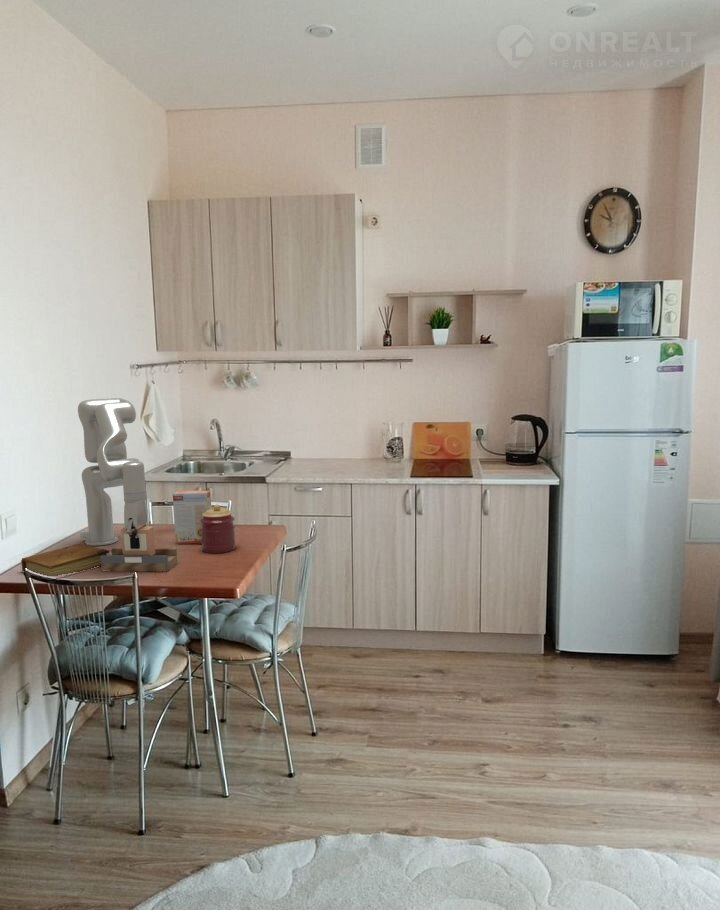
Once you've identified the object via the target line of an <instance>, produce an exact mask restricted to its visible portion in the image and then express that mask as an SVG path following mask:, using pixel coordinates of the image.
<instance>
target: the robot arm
mask: <svg viewBox="0 0 720 910" xmlns="http://www.w3.org/2000/svg"><path fill="white" fill-rule="evenodd" d="M77 413H78V419H79V420H80V423H81V426H82V429H83V447H84V448H83V449H84V457H85V460H86V461H87V462H88V463H90V464H91V463H92V464H96V465H91V466H87V467H86V468H84V469H83V470H82V471H81V481H82V484H83V488H84V489H83V490H84V494H85V501H86V502H85V503H86V515H87V516H86V517H87V526H88V527H87V528H88V530H87V531H81V532H80V533H79V536H80V538H81V539H82V538H83V539H84V538H86V540H84V541H85V545H89V546H93V547H97V546H106V545H111V544H114V543H116V542H119V537H118V536H117V535H115V534H114V533H115V532H114V520H113V509H112V508H113V506H112V499H111V496H110V494H108V493H107V491H105V490H104V489H108V488H117V487H122V488H123V489H122V490H123V502H124V505H123V507H124V508H123V521H124V522H123V523H124V524H123V525H124V527H123V528H125V529H126V530H127V533H128V534H129V538H130V548H131V549H139V548H140V543H139V537H138V529H140V528H141V527H143V526H147V524H148V511H147V503H146V501H147V491H146V487H147V486H146V476H145V465H144V463H143V462H142V461H140V460H139V459H138V458H135V457H134V458H133V457H131V458H128V456H127V455H128V453H127V446H126V443H125V441H126V440H127V439H128V433H127V431H126V427H125V424H133V423H135V421H136V419H137V418H136V417H137V412H136V409H135V407H134V404H133V403H132V402H131V401H129V400H126V399H124V398H120V397H119V398H118V397H116V398H112V397H111V398H95V399H86V400H82V401H80V402H79V404H78V406H77ZM133 527H135V529H132V528H133ZM133 531H135V532H133Z"/></svg>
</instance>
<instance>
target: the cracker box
mask: <svg viewBox="0 0 720 910" xmlns="http://www.w3.org/2000/svg"><path fill="white" fill-rule="evenodd" d="M211 496H212V495H211V490H176V491H175V492H173V493H172V503H173V504H172V505H173V520H174V534H175V535H174V536H175V544H176V545H177V544H178V545H186V544H190V545H191V544H201V545H202V532H201V528H202V523H201V522H200V520H201V519H202V518H203V517H204V516H203V515H202V514H203V513H204V512H206V511H207V510H209V509H212V497H211Z"/></svg>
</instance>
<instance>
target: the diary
mask: <svg viewBox="0 0 720 910" xmlns="http://www.w3.org/2000/svg"><path fill="white" fill-rule="evenodd" d="M109 553H110V550H108V549H106V548H105V549H104V548H101V547H97V546H91V545H87V544H86V543H85V544H83V543H77V544H73V545H69V546H66V547H62V548H57V549H54V550H50V551H45V552H42V553H38V554H34V555H30V556H27V557H23V558H21V560H20V561H21V571H22V572H23V571H24V569H25V568H27V569H29V570H31V571H33V572H36V573H40V574H43V575H47V576H58V575H62V574H68V573H73V572H80V571H83V570H87V569H90V570H92V569H91V568H94V567H97V566H101V559H100V556H101V555H107V554H109ZM97 568H98V567H97ZM94 569H95V568H94ZM87 571H88V570H87ZM83 572H84V571H83ZM80 573H81V572H80Z"/></svg>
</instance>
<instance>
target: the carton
mask: <svg viewBox="0 0 720 910" xmlns="http://www.w3.org/2000/svg"><path fill="white" fill-rule="evenodd" d="M132 529H135V527H133V528H132ZM154 530H155V527H154V525H151V526H149V525H146V526H143V527H141V528H140V529H138V537H139V543H140V548H139V549H131V548H130V538H129V534H128V533H127V530H126V529H125V528H124V527H123V528H121V529H120V536H121V548H122V552H123V555H154V554H155V548H156V543H155V531H154ZM133 532H135V531H133Z"/></svg>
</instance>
